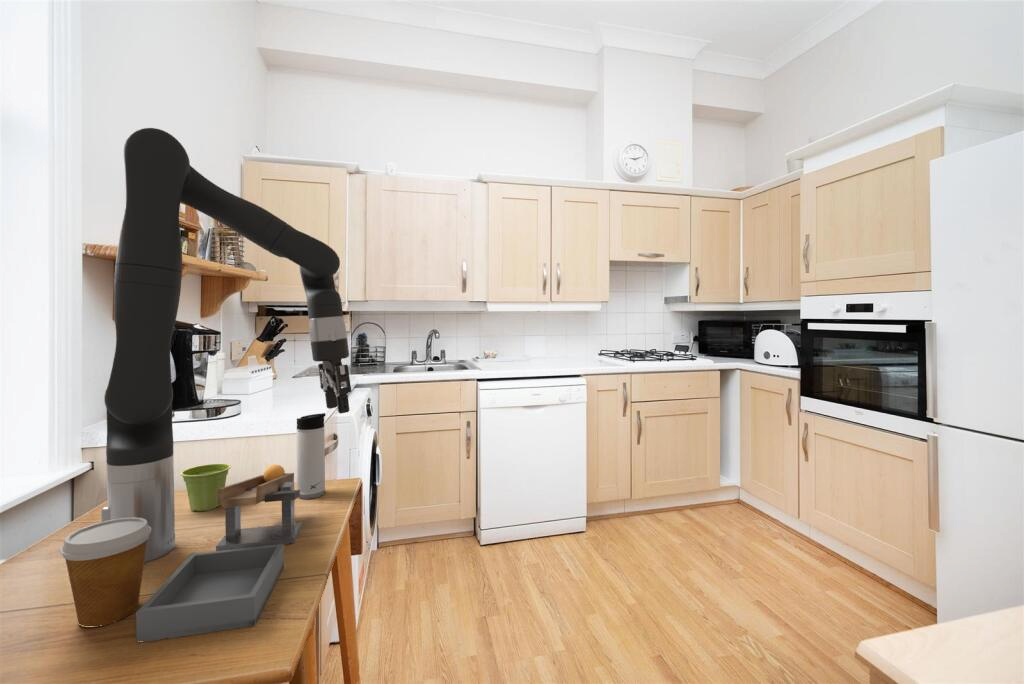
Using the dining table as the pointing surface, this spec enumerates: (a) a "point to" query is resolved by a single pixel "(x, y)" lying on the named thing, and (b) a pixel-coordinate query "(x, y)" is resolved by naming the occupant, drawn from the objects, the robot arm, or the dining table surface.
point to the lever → (256, 491)
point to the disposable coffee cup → (106, 568)
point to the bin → (212, 593)
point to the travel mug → (311, 456)
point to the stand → (260, 528)
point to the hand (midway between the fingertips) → (338, 410)
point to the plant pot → (205, 485)
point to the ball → (273, 472)
